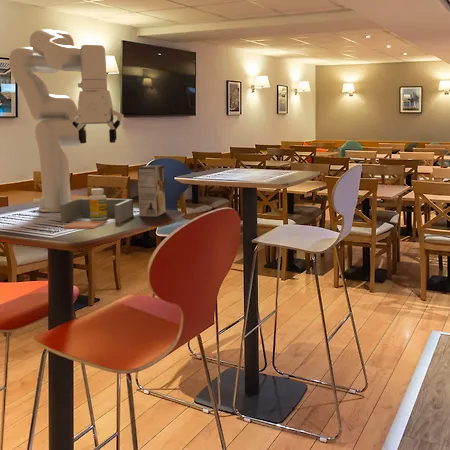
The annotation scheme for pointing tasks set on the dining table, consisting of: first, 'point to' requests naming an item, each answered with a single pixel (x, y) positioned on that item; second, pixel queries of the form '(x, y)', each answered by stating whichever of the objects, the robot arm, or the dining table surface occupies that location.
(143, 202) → the coffee box
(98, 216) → the supplement bottle
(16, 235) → the dining table surface
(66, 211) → the open box
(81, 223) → the tile
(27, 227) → the dining table surface
